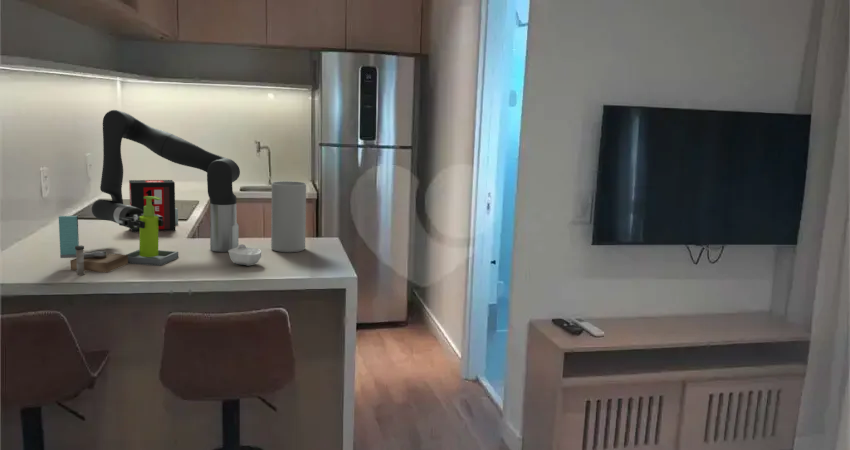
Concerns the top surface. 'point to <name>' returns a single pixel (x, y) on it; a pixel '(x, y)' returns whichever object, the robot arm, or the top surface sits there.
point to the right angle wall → (176, 216)
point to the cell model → (245, 255)
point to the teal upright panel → (72, 238)
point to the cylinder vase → (288, 216)
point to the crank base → (96, 262)
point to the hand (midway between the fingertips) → (153, 224)
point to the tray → (152, 258)
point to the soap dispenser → (149, 230)
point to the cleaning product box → (161, 207)
